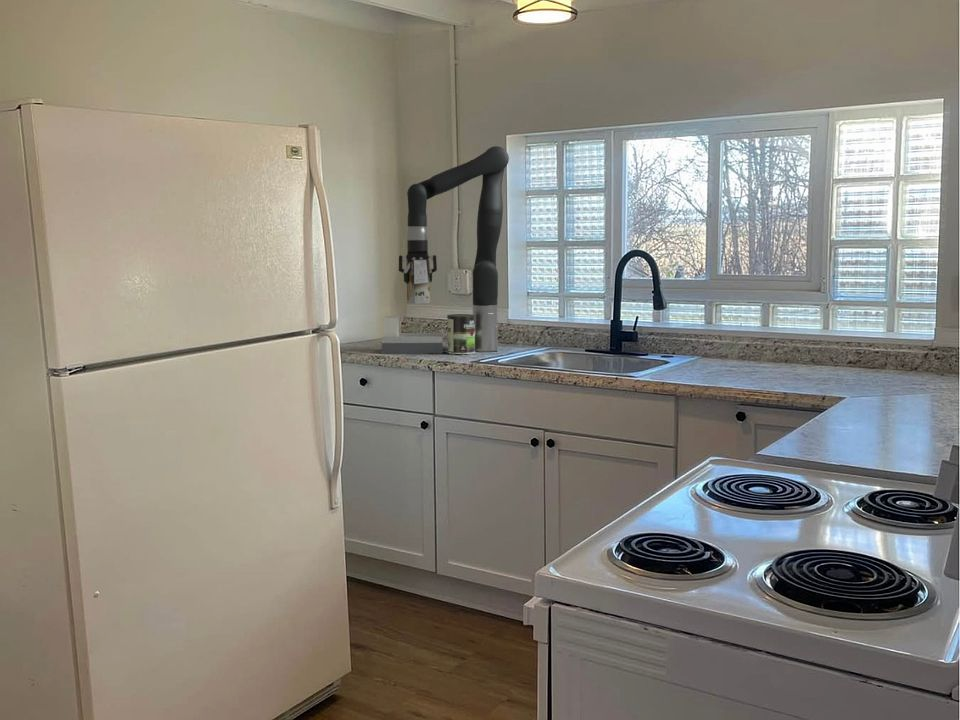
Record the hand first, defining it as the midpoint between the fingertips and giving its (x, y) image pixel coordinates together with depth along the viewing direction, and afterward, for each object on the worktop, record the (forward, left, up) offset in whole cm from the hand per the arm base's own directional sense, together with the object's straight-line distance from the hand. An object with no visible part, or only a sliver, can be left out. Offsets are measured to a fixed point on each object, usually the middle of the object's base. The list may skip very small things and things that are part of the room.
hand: (418, 283), depth 335 cm
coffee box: (0, 0, -7) cm, 7 cm away
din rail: (+2, 0, -21) cm, 22 cm away
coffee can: (-16, +5, -26) cm, 31 cm away
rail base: (+2, 0, -25) cm, 26 cm away
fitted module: (+10, 0, -21) cm, 23 cm away
